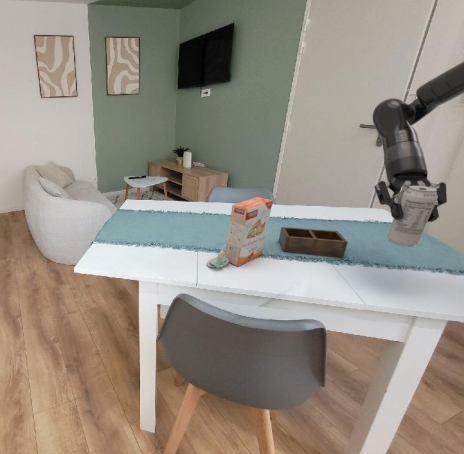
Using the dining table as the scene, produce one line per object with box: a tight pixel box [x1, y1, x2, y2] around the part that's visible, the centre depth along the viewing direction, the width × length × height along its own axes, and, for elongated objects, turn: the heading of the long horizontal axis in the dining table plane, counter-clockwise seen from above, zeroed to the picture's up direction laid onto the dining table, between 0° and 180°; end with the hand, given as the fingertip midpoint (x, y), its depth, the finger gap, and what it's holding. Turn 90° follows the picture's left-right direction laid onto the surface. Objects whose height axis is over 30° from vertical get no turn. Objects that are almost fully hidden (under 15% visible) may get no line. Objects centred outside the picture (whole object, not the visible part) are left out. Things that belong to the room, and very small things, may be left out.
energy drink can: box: [386, 186, 438, 248], centre depth 74 cm, size 6×6×15 cm
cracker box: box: [224, 196, 274, 267], centre depth 99 cm, size 14×6×21 cm, turn 122°
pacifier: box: [206, 249, 229, 269], centre depth 98 cm, size 7×6×6 cm
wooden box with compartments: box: [278, 226, 349, 259], centre depth 105 cm, size 18×10×6 cm, turn 71°
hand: (415, 219), depth 73 cm, fingers closed on energy drink can, 6 cm apart
